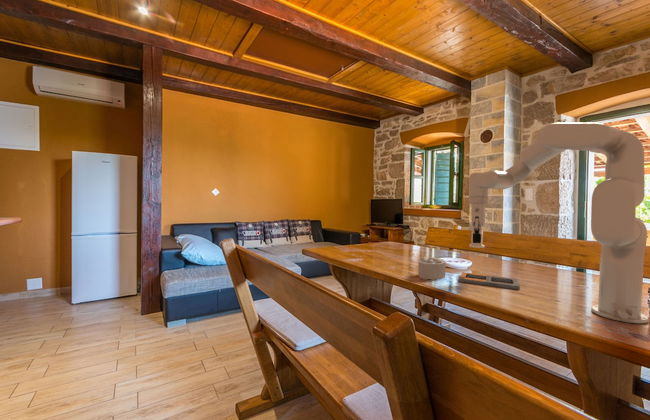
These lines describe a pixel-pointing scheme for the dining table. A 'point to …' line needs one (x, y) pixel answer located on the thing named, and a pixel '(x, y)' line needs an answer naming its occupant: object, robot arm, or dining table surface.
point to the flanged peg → (477, 245)
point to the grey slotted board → (489, 280)
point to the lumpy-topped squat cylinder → (431, 268)
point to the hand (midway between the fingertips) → (477, 241)
